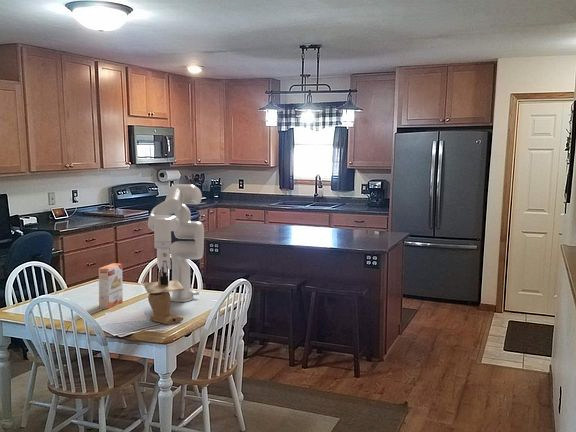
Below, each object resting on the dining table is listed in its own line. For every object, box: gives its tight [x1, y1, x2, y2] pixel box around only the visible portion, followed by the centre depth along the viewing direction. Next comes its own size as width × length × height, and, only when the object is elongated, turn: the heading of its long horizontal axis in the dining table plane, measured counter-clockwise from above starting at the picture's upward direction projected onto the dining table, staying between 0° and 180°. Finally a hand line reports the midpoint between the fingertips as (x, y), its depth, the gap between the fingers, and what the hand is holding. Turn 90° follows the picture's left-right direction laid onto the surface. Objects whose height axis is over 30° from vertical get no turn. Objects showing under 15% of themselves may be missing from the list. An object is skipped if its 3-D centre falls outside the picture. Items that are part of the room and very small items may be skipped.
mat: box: [104, 308, 148, 325], centre depth 252 cm, size 18×18×1 cm
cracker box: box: [98, 262, 124, 309], centre depth 270 cm, size 14×6×21 cm, turn 168°
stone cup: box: [147, 292, 184, 325], centre depth 245 cm, size 15×12×15 cm
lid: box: [142, 271, 184, 294], centre depth 243 cm, size 16×16×7 cm
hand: (163, 283), depth 244 cm, fingers closed on lid, 4 cm apart
